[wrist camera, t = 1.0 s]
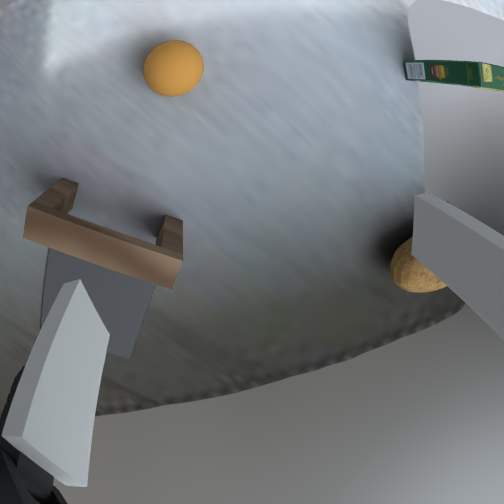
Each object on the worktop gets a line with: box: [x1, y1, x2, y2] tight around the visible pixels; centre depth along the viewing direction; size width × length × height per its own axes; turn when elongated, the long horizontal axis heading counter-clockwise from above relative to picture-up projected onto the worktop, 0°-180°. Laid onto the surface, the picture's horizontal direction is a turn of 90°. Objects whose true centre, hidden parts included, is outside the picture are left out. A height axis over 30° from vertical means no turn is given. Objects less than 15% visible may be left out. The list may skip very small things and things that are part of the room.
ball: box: [143, 40, 204, 97], centre depth 24 cm, size 6×6×6 cm
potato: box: [390, 236, 447, 292], centre depth 40 cm, size 10×14×8 cm
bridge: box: [23, 178, 183, 289], centre depth 28 cm, size 3×14×9 cm, turn 63°
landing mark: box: [41, 248, 155, 359], centre depth 37 cm, size 14×14×1 cm
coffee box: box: [404, 60, 504, 92], centre depth 25 cm, size 8×3×13 cm, turn 99°
